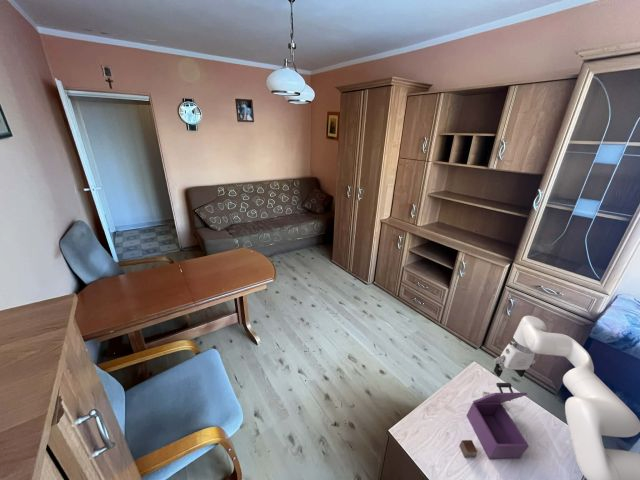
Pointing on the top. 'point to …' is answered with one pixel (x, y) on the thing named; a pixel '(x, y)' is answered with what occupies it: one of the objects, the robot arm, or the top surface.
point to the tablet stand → (489, 394)
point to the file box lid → (500, 395)
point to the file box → (496, 431)
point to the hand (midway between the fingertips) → (507, 373)
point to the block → (468, 448)
